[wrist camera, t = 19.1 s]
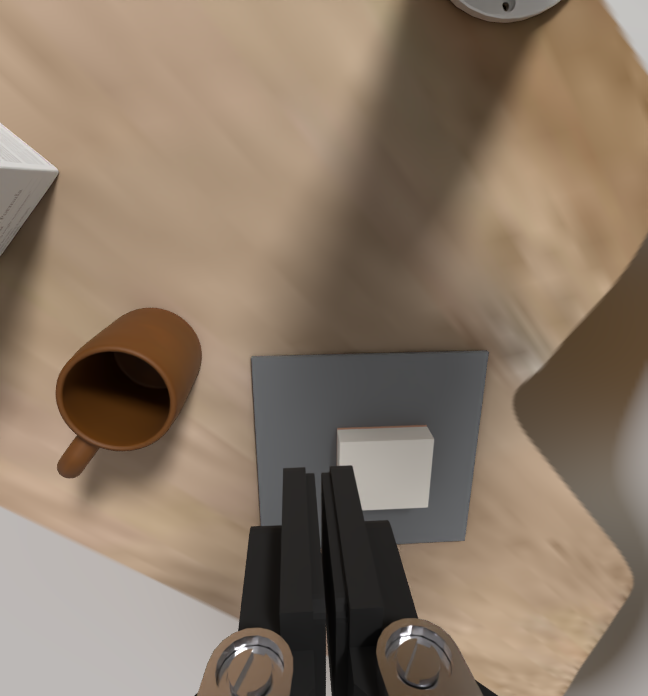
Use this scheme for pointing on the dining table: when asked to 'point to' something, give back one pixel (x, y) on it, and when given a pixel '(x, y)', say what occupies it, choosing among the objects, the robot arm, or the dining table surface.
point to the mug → (126, 385)
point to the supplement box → (20, 183)
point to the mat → (371, 425)
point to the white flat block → (388, 464)
